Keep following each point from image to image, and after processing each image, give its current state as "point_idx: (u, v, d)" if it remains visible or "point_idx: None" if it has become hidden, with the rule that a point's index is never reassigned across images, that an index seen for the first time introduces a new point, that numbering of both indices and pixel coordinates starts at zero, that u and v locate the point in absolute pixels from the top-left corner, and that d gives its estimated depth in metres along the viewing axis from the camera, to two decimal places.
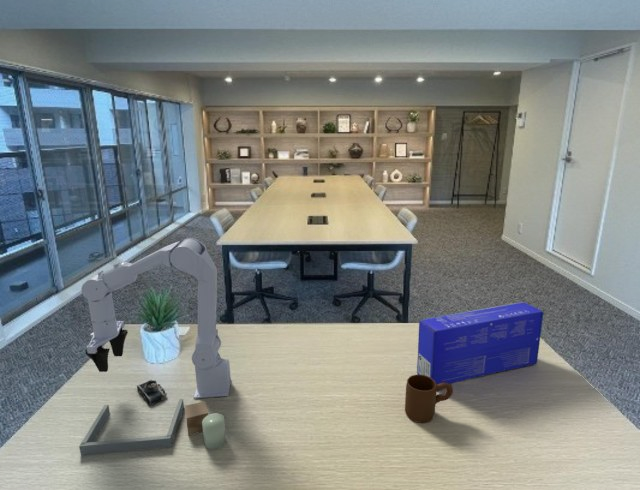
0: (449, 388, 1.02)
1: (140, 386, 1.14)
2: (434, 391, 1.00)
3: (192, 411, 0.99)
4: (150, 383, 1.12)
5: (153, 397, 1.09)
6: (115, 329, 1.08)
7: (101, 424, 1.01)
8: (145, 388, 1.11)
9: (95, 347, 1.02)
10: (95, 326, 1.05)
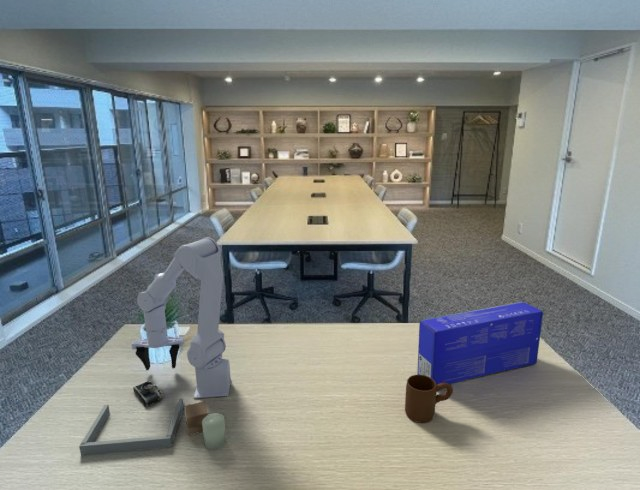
0: (448, 388, 1.02)
1: (136, 387, 1.13)
2: (434, 391, 1.00)
3: (192, 411, 0.99)
4: (146, 384, 1.12)
5: (149, 399, 1.08)
6: (154, 341, 1.17)
7: (101, 424, 1.01)
8: (141, 389, 1.10)
9: (133, 345, 1.19)
10: None
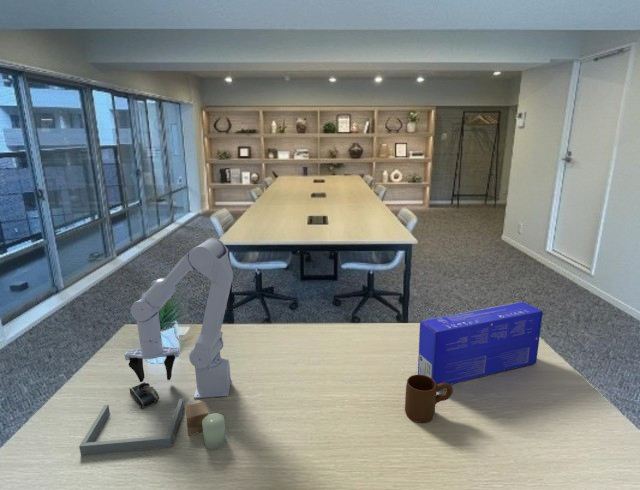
0: (448, 387, 1.02)
1: (133, 389, 1.12)
2: (434, 391, 1.00)
3: (192, 411, 0.99)
4: (143, 386, 1.11)
5: (146, 400, 1.08)
6: (148, 352, 1.11)
7: (101, 424, 1.01)
8: (138, 391, 1.10)
9: (126, 355, 1.13)
10: None
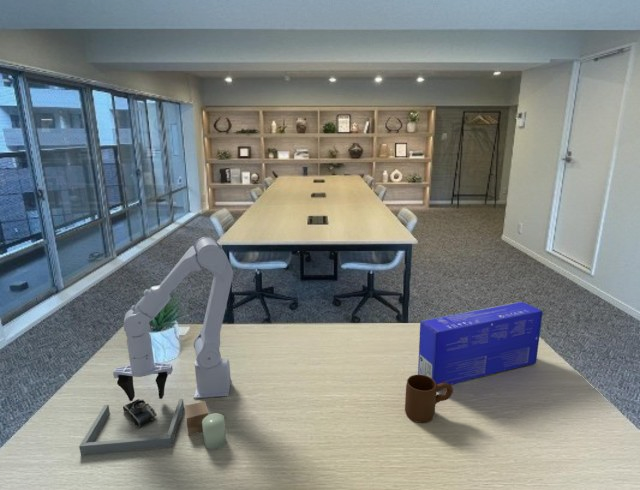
0: (449, 388, 1.02)
1: (127, 407, 1.05)
2: (434, 391, 1.00)
3: (192, 411, 0.99)
4: (138, 403, 1.04)
5: (142, 419, 1.00)
6: (138, 369, 1.03)
7: (101, 424, 1.01)
8: (133, 409, 1.02)
9: (115, 373, 1.05)
10: None
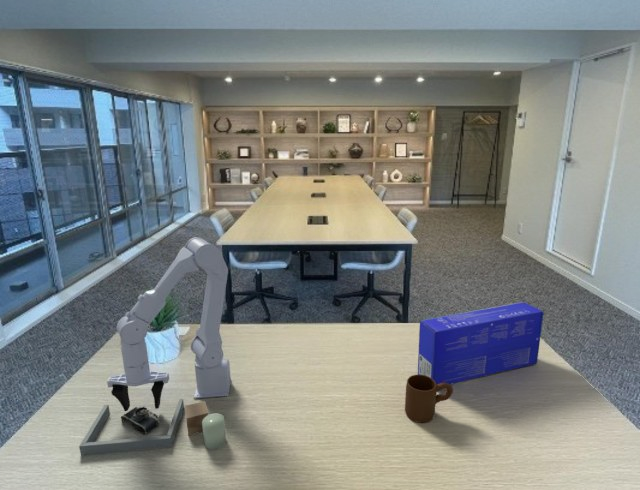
0: (448, 388, 1.02)
1: (126, 416, 1.02)
2: (434, 391, 1.00)
3: (192, 411, 0.99)
4: (139, 410, 1.01)
5: (147, 425, 0.98)
6: (133, 379, 0.99)
7: (101, 424, 1.01)
8: (135, 417, 1.00)
9: (109, 382, 1.01)
10: None
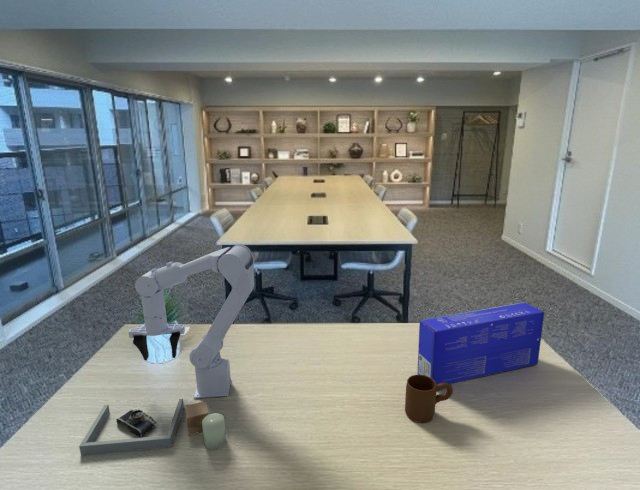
0: (449, 388, 1.02)
1: (121, 419, 1.01)
2: (434, 391, 1.00)
3: (192, 411, 0.99)
4: (135, 413, 1.00)
5: (143, 428, 0.98)
6: (153, 329, 1.09)
7: (101, 424, 1.01)
8: (130, 420, 0.99)
9: (130, 333, 1.10)
10: None
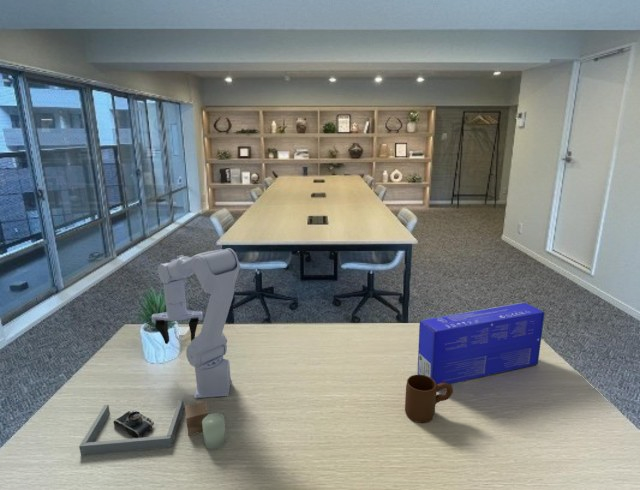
0: (448, 387, 1.02)
1: (119, 420, 1.00)
2: (434, 391, 1.00)
3: (192, 411, 0.99)
4: (132, 415, 1.00)
5: (141, 430, 0.97)
6: (174, 314, 1.18)
7: (101, 424, 1.01)
8: (128, 421, 0.98)
9: (153, 318, 1.19)
10: None
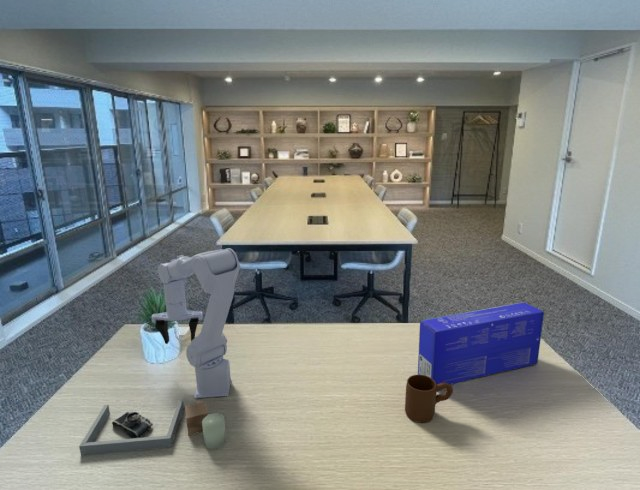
0: (448, 388, 1.02)
1: (117, 421, 1.00)
2: (434, 391, 1.00)
3: (192, 411, 0.99)
4: (131, 415, 0.99)
5: (140, 430, 0.97)
6: (174, 314, 1.18)
7: (101, 424, 1.01)
8: (126, 422, 0.98)
9: (153, 318, 1.19)
10: None
